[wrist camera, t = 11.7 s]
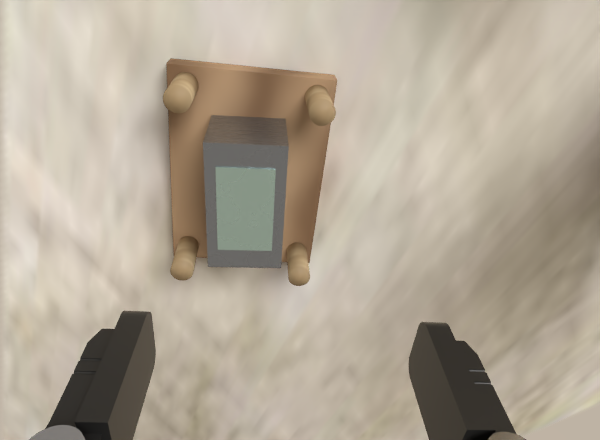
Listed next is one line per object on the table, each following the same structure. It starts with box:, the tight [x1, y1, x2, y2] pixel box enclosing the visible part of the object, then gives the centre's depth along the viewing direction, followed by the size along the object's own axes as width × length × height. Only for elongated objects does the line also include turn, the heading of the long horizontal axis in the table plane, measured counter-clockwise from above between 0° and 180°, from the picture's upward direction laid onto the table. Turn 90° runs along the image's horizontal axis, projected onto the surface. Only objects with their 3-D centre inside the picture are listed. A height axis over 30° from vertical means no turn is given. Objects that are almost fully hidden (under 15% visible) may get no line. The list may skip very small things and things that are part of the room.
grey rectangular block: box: [203, 115, 289, 268], centre depth 31 cm, size 5×9×5 cm, turn 176°
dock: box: [163, 59, 337, 286], centre depth 32 cm, size 11×15×5 cm
